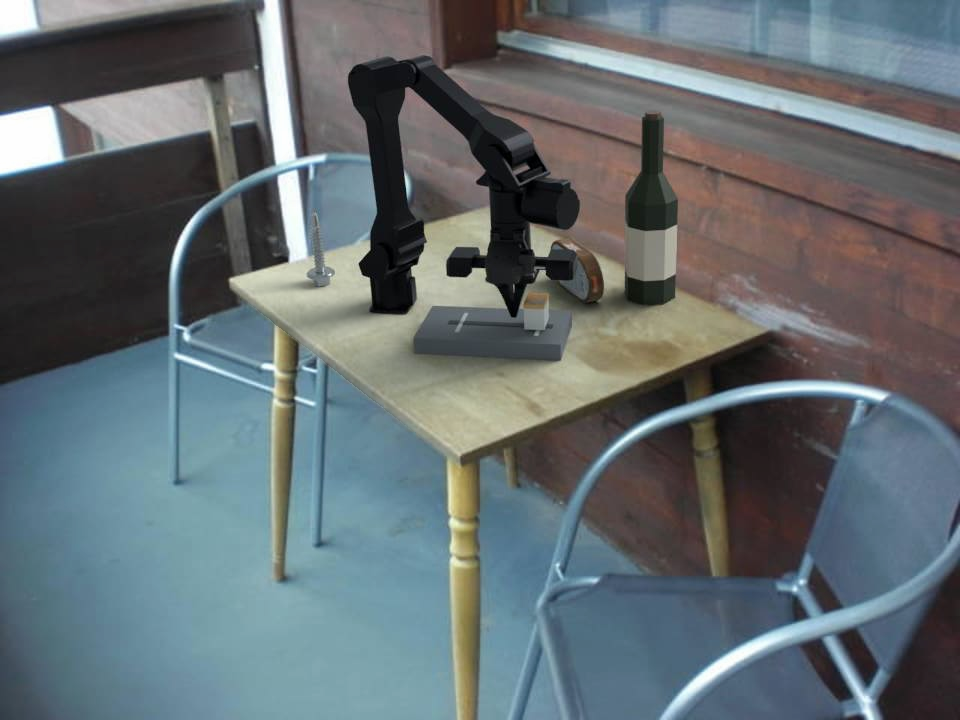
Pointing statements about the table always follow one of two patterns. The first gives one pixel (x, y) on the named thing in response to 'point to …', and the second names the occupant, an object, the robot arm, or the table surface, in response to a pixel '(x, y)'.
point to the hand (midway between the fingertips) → (514, 316)
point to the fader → (536, 311)
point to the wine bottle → (651, 223)
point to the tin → (582, 272)
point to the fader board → (491, 333)
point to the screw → (318, 256)
